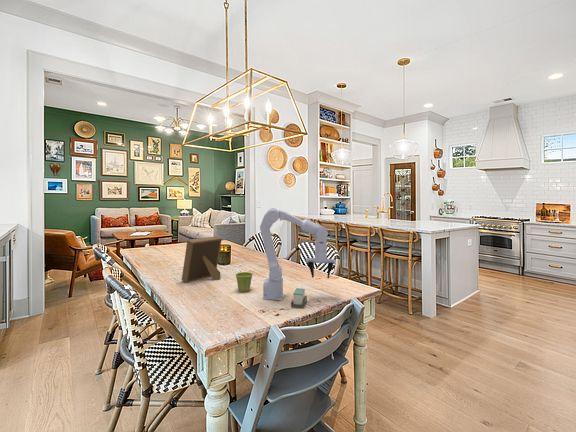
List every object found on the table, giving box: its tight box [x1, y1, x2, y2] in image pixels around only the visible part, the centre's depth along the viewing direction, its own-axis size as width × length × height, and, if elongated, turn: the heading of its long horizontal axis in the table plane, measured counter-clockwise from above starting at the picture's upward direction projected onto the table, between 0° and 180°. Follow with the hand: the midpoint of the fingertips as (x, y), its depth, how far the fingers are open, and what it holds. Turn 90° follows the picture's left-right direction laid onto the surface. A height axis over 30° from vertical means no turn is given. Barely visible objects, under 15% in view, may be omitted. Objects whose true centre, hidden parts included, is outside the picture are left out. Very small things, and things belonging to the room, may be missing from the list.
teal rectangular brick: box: [292, 287, 306, 305], centre depth 139 cm, size 4×8×5 cm, turn 168°
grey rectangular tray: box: [290, 295, 308, 309], centre depth 140 cm, size 6×11×2 cm, turn 168°
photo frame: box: [181, 235, 222, 283], centre depth 178 cm, size 15×22×25 cm
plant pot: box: [234, 271, 254, 293], centre depth 159 cm, size 9×9×9 cm
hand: (320, 277), depth 148 cm, fingers open, 7 cm apart
